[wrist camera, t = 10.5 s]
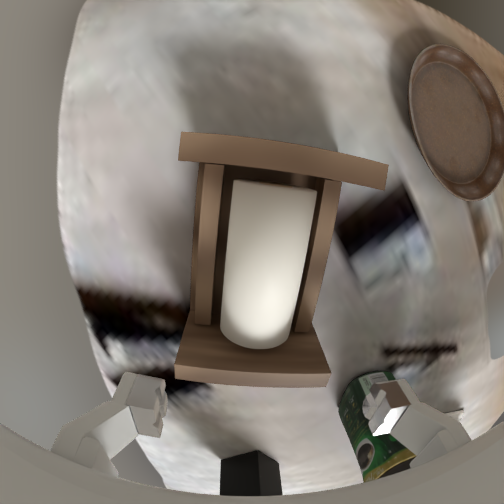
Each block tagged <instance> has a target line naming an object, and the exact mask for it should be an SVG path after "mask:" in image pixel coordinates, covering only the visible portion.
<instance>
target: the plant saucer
mask: <svg viewBox="0 0 504 504" xmlns="http://www.w3.org/2000/svg"><path fill="white" fill-rule="evenodd" d="M408 109H409V116H410V122H411V126H412V129H413V133H414V136H415V139H416V142H417V144H418V147H419V149H420V151H421V154H422V156H423V158H424V160H425V161H426V163H427V165H428V167H429V168H430V170H431V171H432V173H433V174H434V176H435V177H436V178H437V179H438V181H439V182H440V183H441V184H442V185H443V186H444V187H445V188H446V189H447V190H448V191H449V192H450V193H451V194H453V195H454V196H456V197H458V198H460V199H462V200H465V201H479V200H482V199H484V198H486V197H487V196H489V195H490V194H491V193H492V192H493V191H494V190H495V189H496V187H497V186H498V184H499V182H500V181H501V178H502V176H503V173H504V110H503V107H502V103H501V101H500V98H499V96H498V94H497V91H496V89H495V87H494V86H493V84H492V82H491V81H490V79H489V77H488V76H487V74H486V73H485V72H484V71H483V69H482V68H481V67H480V66H479V65H478V64H477V63H476V62H475V61H474V60H473V59H472V58H471V57H470V56H469V55H467V54H466V53H464V52H463V51H461V50H459V49H458V48H455V47H453V46H450V45H445V44H434V45H431V46H428V47H427V48H425V49H424V50H422V51H421V52H420V54H419V55H418V56H417V58H416V59H415V61H414V64H413V66H412V69H411V73H410V77H409V83H408Z"/></svg>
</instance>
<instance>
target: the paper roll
mask: <svg viewBox="0 0 504 504" xmlns="http://www.w3.org/2000/svg"><path fill="white" fill-rule="evenodd" d="M316 196H317V191H315V190H312V189H309V188H305V187H300V186H295V185H290V184H284V183H278V182H270V181H262V180H250V179H235V180H234V182H233V191H232V200H231V210H230V219H229V229H228V240H227V250H226V261H225V272H224V283H223V295H222V307H221V320H220V329H221V331H222V333H223V335H224V336H225V337H226V338H227V339H229V340H230V341H232V342H233V343H235V344H237V345H240V346H243V347H246V348H251V349H269V348H274V347H277V346H279V345H281V344H282V343H284V342H285V341H286V340H287V338H288V336H289V333H290V329H291V324H292V320H293V316H294V311H295V307H296V302H297V297H298V293H299V288H300V283H301V278H302V273H303V268H304V263H305V258H306V253H307V248H308V242H309V237H310V231H311V226H312V220H313V214H314V208H315V202H316Z"/></svg>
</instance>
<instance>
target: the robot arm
mask: <svg viewBox="0 0 504 504" xmlns="http://www.w3.org/2000/svg"><path fill="white" fill-rule="evenodd" d="M165 386H166V385H165V380H164V379H160V378H154V377H149V376H145V375H140V374H134V373H130V372H125V373H124V374H123V376H122V378H121V380H120V383H119V385H118V387H117V389H116V391H115V394H114V396H113V398H112V401H106V402H104V403H103V404H101V405H99V406H97V407H96V408H94V409H92V410H91V411H89V412H87V413H85V414H84V415H82V416H80V417H78V418H77V419H75V420H73V421H71V422H69V423H67V424H65V425H64V426H62V428H61V430H60V432H59V434H58V436H57V438H56V441H55V442H54V444H53V446H52V448H51V451H49V450H47V449H44V448H43V447H41V446H39V445H37V444H35V443H33V442H31V441H29V440H28V439H26V438H24V437H22V436H21V435H19V434H17V433H16V432H14V431H12V430H11V429H9V428H8V427H6V426H4V425H3V424H1V423H0V504H504V421H503V422H501V423H500V424H498V425H497V426H495V427H494V428H493V429H491V430H489V431H487V432H486V433H484V434H482V435H481V436H479V437H477V438H475V439H474V440H471V438H470V437H469V435H468V434H467V432H466V431H465V429H464V427H463V426H462V424H461V423H460V421H461V419H462V418H463V416H464V410H460V411H455V412H450V413H442V412H440V411H438V410H436V409H435V408H433V407H431V406H429V405H427V404H426V403H424V402H422V403H421V402H420V401H419V399H418V398H417V396H416V394H415V393H414V391H413V390H412V388H411V387H410V385H409V384H408V382H407V381H406V380H405V379H398V380H391V381H385V382H378V383H374V384H373V385H372V386H371V387H370V389H369V390H370V392H371V393H370V394H368V395H367V396H366V397H365V399H364V401H363V407H362V409H363V413H364V416H365V417H366V418H367V419H369V420H370V421H369V424H368V425H369V427H370V430H371V432H372V434H373V436H375V435H380V434H385V433H390V434H391V435H392V436H393V437H394V438H396V439H397V440H398V441H399V442H400V443H402V444H403V445H404V446H405V447H406V448H408V449H409V450H410V451H411V452H413V453H414V454H415V455H416V457H415V458H414V459H413V460H412V461H411V463H410V464H409V465H410V467H411V468H410V469H407V470H405V471H402V472H399V473H396V474H393V475H389V476H386V477H383V478H379V479H376V480H372V481H368V482H364V483H360V484H356V485H352V486H347V487H342V488H337V489H331V490H325V491H318V492H311V493H303V494H293V495H279V496H222V495H208V494H198V493H190V492H183V491H176V490H170V489H164V488H159V487H154V486H149V485H145V484H141V483H137V482H133V481H128V480H125V479H122V478H118V471H117V470H116V468H115V467H114V465H113V464H112V462H111V460H110V459H111V458H112V457H114V456H115V455H116V454H117V453H118V452H119V451H121V450H122V449H123V448H124V447H125V446H126V445H128V444H129V443H130V442H131V441H132V440H134V439H135V438H136V437H137V436H138V434H141V435H146V436H152V437H158V438H160V436H161V432H162V428H163V421H162V418H163V417H164V416H165V415H166V411H167V393H166V392H165V391H164V390H165Z"/></svg>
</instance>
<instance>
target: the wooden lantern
mask: <svg viewBox="0 0 504 504" xmlns="http://www.w3.org/2000/svg"><path fill="white" fill-rule="evenodd" d="M178 161H192V162H199V170H198V180H197V191H196V203H195V216H194V230H193V246H192V266H191V293H190V313H189V316H188V319H187V322H186V326H185V329H184V332H183V336H182V339H181V343H180V346H179V350H178V353H177V357H176V360H175V364H174V366H175V379H182V380H189V381H196V382H205V383H214V384H224V385H237V386H253V387H285V388H302V387H326V385H327V383H328V381H329V378H330V376H331V371H330V368H329V365H328V363H327V360H326V358H325V355H324V353H323V350H322V347H321V345H320V342H319V340H318V337H317V335H316V332H315V330H314V327H313V325H312V319H313V315H314V312H315V308H316V304H317V300H318V296H319V292H320V288H321V284H322V280H323V275H324V271H325V267H326V262H327V258H328V253H329V249H330V244H331V239H332V234H333V229H334V224H335V219H336V214H337V208H338V203H339V197H340V191H341V185H342V182H341V181H343V182H348V183H352V184H357V185H362V186H366V187H371V188H375V189H380V190H384V191H385V185H386V179H387V172H388V166H389V165H387V164H383V163H380V162H376V161H372V160H368V159H364V158H360V157H356V156H352V155H348V154H344V153H339V152H334V151H330V150H325V149H320V148H315V147H310V146H304V145H298V144H293V143H286V142H280V141H273V140H266V139H259V138H251V137H242V136H232V135H222V134H209V133H194V132H181V138H180V147H179V156H178ZM235 179H250V180H262V181H270V182H278V183H284V184H290V185H295V186H300V187H305V188H309V189H312V190H315V191H317V196H316V202H315V208H314V214H313V220H312V226H311V231H310V237H309V242H308V248H307V253H306V258H305V263H304V268H303V273H302V278H301V283H300V288H299V293H298V297H297V302H296V307H295V311H294V316H293V320H292V324H291V329H290V333H289V336H288V338H287V340H286V341H285V342H284V343H282V344H281V345H279V346H277V347H274V348H269V349H251V348H246V347H243V346H240V345H237V344H235V343H233V342H232V341H230V340H229V339H227V338H226V337H225V336H224V335H223V333H222V331H221V329H220V320H221V307H222V295H223V283H224V272H225V261H226V250H227V240H228V229H229V219H230V210H231V200H232V191H233V182H234V180H235Z"/></svg>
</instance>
